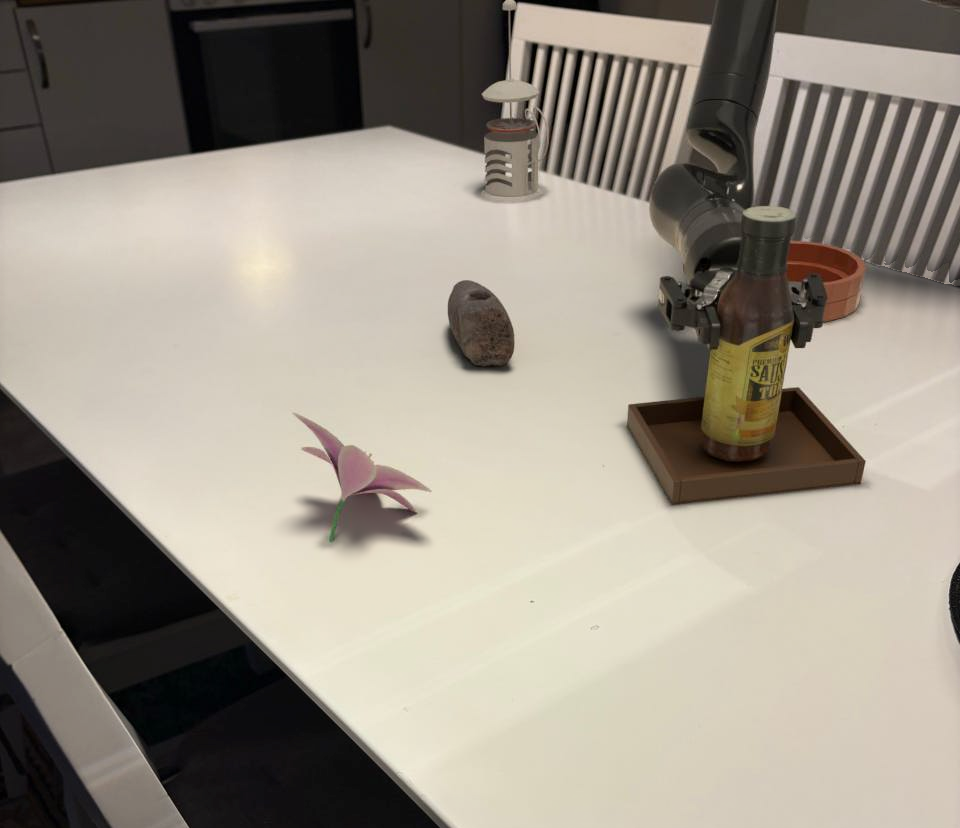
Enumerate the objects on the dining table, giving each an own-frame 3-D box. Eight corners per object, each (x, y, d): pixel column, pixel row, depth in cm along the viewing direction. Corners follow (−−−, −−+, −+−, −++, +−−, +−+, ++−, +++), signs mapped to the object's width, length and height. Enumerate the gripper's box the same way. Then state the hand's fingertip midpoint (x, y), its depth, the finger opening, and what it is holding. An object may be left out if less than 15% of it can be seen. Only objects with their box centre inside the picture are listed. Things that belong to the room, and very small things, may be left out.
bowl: (825, 274, 125) (832, 236, 122) (879, 320, 113) (888, 279, 111) (708, 285, 123) (712, 246, 120) (751, 332, 112) (757, 291, 109)
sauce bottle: (747, 474, 87) (781, 234, 75) (684, 451, 91) (707, 217, 78) (787, 443, 91) (826, 210, 78) (725, 422, 94) (753, 195, 82)
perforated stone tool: (438, 326, 116) (434, 264, 112) (484, 320, 117) (482, 258, 113) (468, 381, 105) (465, 314, 100) (518, 375, 106) (518, 308, 101)
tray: (794, 411, 97) (798, 386, 96) (860, 487, 86) (866, 460, 85) (626, 428, 96) (628, 404, 94) (671, 508, 85) (674, 481, 83)
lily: (441, 568, 81) (464, 446, 79) (297, 552, 75) (318, 419, 73) (383, 540, 91) (402, 431, 89) (252, 523, 85) (270, 406, 84)
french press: (512, 181, 160) (510, -9, 144) (567, 195, 153) (571, -2, 137) (465, 195, 155) (457, 0, 139) (519, 211, 148) (517, 8, 132)
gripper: (649, 222, 93) (671, 293, 80) (812, 218, 92) (860, 289, 79) (643, 304, 97) (663, 383, 85) (798, 300, 97) (842, 380, 84)
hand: (758, 337), depth 82 cm, fingers closed on sauce bottle, 6 cm apart
